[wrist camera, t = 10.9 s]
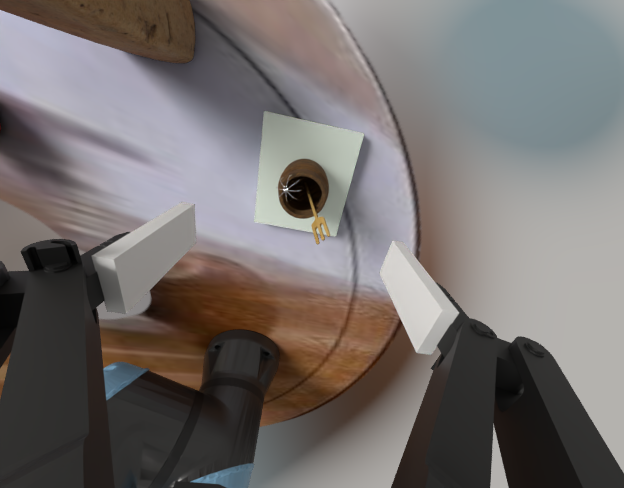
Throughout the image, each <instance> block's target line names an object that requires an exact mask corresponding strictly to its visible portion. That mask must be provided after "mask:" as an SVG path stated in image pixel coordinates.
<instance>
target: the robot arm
mask: <svg viewBox="0 0 624 488" xmlns="http://www.w3.org/2000/svg"><path fill="white" fill-rule="evenodd" d="M195 243H196V228H195V204H190V203H185V202H181V203H179V204H178V205H176V206H174V207H173V208H171V209H169V210H168V211H166V212H164V213H163V214H161V215H159V216H158V217H156V218H154V219H153V220H151V221H149V222H148V223H146V224H144V225H143V226H141V227H139V228H137V229H136V230H134V231H132V232H126V233H123V234H120V235H116V236H114V237H113V238H111V239H109V240H107V242H104V243H102V244H100V246H97V247H95V248H93V249H91V250H90V251H88V252H86V253H84V254H83V255H81V256H80V254H79V250H78V247H77V244H76V243H75V242H74V241H71V240H66V239H52V240H45V241H40V242H36V243H33V244H30V245H28V246H26V247H24V248H23V249H22V251H21V254H22V256H23V258H24V260H25V263H26V265H27V267H28V269H29V271H9V272H8V271H7V269H6V267H5V265H4V264H3V263H2V261H0V368H1V366H2V365H3V363H4V362H5V360H6V359H7V357H8V356H9V354H10V352H11V356H10V360H9V364H8V369H7V373H6V377H5V382H4V386H3V391H2V395H1V399H0V488H248V485H249V482H250V477H251V473H252V470H253V467H254V464H253V462H254V456H255V449H256V443H257V437H258V432H259V426H260V420H261V414H262V408H263V402H264V397H265V394H266V392H267V390H268V388H269V386H270V384H271V382H272V380H273V378H274V376H275V374H276V372H277V369H278V365H279V357H280V355H279V351H278V348H277V347H276V345H275V344H274V343H273V342H272V341H271V340H270V339H268V338H267V337H265V336H263V335H261V334H259V333H256V332H253V331H248V330H230V331H226V332H223V333H221V334H219V335H217V336H216V337H214V338H213V339H212V340H211V342H210V344H209V346H208V348H207V350H206V353H205V356H204V366H203V376H202V385H201V387H200V390H199V391H197V390H195V389H193V388H190V387H187V386H185V385H182V384H180V383H177V382H175V381H172V380H170V379H168V378H165V377H163V376H160V375H158V374H155V373H153V372H151V371H149V370H150V369H148V368H145V369H143V368H140V367H137V366H134V365H131V364H128V363H125V362H116V363H113V364H110V365H109V366H107V367H105V368H104V369H103V360H102V349H101V339H100V328H99V318H98V312H97V309H96V307H97V306H98V305H100V304H101V303H102V302H103V301H104V302H105V306H106V309H107V312H115V313H122V314H127V313H128V312H129V311H130V310H131V309H132V308H133V307H134V306H135V305H136V304H137V303H138V302H139V301H140V300H141V299H142V298H143V297H144V296H145V295H146V293H147V292H148V291H149V290H150V289H151V288H152V287H153V286H154V285H155V284H156V283H157V282H158V281H159V280H160V279H161V278H162V277H163V276H164V275H165V274H166V273H167V272H168V271H169V270H170V269H171V268H172V267H173V266H174V265H175V264H176V263H177V262H178V261H179V260H180V259H181V258H182V257H183V256H184V255H185V253H186V252H187V251H188V250H189V249H190V248H191V247H192V246H193V245H194V244H195ZM380 276H381V278H382V280H383V282H384V284H385V286H386V288H387V291H388V293H389V295H390V297H391V299H392V301H393V303H394V306H395V308H396V310H397V312H398V314H399V316H400V318H401V321H402V323H403V325H404V327H405V329H406V331H407V333H408V335H409V338H410V340H411V342H412V344H413V346H414V348H415V351H416V352H417V353H422V354H429V355H432V353H433V352H434V350H435V349H436V347H437V346H438V348H439V350H440V351H441V355H440V356H439V357H438V359H437V360H436V362H435V363H434V365H433V366H432V368H431V369H432V370H433V373H432V376H431V379H430V381H429V384H428V387H427V390H426V393H425V395H424V398H423V401H422V404H421V406H420V409H419V412H418V415H417V418H416V420H415V423H414V426H413V428H412V431H411V434H410V437H409V440H408V442H407V445H406V448H405V451H404V453H403V456H402V459H401V462H400V464H399V467H398V470H397V473H396V475H395V478H394V481H393V484H392V486H391V488H490V480H491V461H492V441H493V423H494V427H495V431H496V435H497V440H498V444H499V448H500V452H501V457H502V461H503V465H504V469H505V473H506V478H507V482H508V486H509V488H624V473H623V472H622V470H621V469H620V467H619V465H618V463H617V462H616V460H615V458H614V457H613V455H612V453H611V452H610V450H609V448H608V447H607V445H606V443H605V442H604V440H603V438H602V437H601V435H600V434H599V432H598V430H597V428H596V427H595V425H594V424H593V422H592V420H591V419H590V417H589V416H588V414H587V412H586V410H585V409H584V407H583V406H582V404H581V402H580V400H579V399H578V397H577V395H576V394H575V392H574V391H573V389H572V387H571V385H570V384H569V382H568V380H567V379H566V377H565V375H564V374H563V372H562V371H561V369H560V367H559V366H558V364H557V362H556V361H555V359H554V357H553V356H552V355H551V354H550V352H548V351H547V350H546V349H545V348H544V347H543V346H542V345H539V343H537V342H535V341H533V340H530V339H528V338H525V337H517V338H516V339H515V340H514V341H513V342H512V343H509V342H507V341H504V340H501V339H499V338H497V336H496V334H495V333H494V332H493V331H492V330H491V329H490V328H489V327H488V326H486V325H485V324H483V323H482V322H480V321H477V320H475V319H470V318H469V317H468V316H467V315H466V314H465V312H463V310H462V309H461V308H460V306H459V305H458V304H457V303H456V302H455V300H454V299H453V298H452V297H450V294H449V293H448V292H447V291H446V289H444V288H443V287H442V286H441V285H439V284H438V283H436V282H434V281H433V279H432V278H431V277H430V276H429V274H428V273H427V272H426V270H425V269H424V268H423V267H422V265H421V264H420V263H419V261H418V260H417V259H416V258H415V256H414V255H413V254H412V253H411V251H410V250H409V249H408V248H407V246H406V245H405V244H404V243H403V242H399V241H392V243H391V246H390V248H389V251H388V253H387V256H386V258H385V260H384V263H383V265H382V268H381V270H380Z"/></svg>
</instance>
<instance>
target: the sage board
mask: <svg viewBox="0 0 624 488" xmlns="http://www.w3.org/2000/svg"><path fill="white" fill-rule="evenodd" d="M363 137H364V133H360V132H355V131H351V130H347V129H342V128H338V127H333V126H329V125H324V124H320V123H316V122H311V121H307V120H302V119H298V118H294V117H289V116H285V115H280V114H276V113H272V112H267V111H264V115H263V127H262V138H261V150H260V161H259V173H258V184H257V196H256V207H255V218H254V222H257V223H263V224H268V225H274V226H279V227H285V228H290V229H296V230H301V231H307V232H312V233H313V230H312V227H311V225H312V223H313V222H314V220H315V217H314V216H313V217H311V218H306V219H300V218H295V217H293V216H291V215H289V214H288V213H287V212H286V211H285V210H284V209H283V208H282V206H281V204H280V201H279V196H278V189H277V188H278V183H279V179H280V177H281V175H282V173H283V171H284V170H285V168H286V167H287V166H288V165H289V164H290V163H292V162H293V161H295V160H298V159H310V160H313V161H315V162H317V163H318V164H319V165H320V166H321V167H322V168H323V169H324V171H325V173H326V175H327V179H328V183H329V194H328V198H327V200H326V203H325V205H324V207H323V209H322V210H321V211H320V212H319V213H318V214H317V215H318V218H319V217H324V218H325V221H326V224H327V227H328V229H329V232H330V236H334V237H336V234H337V231H338V227H339V223H340V220H341V216H342V212H343V209H344V205H345V202H346V198H347V194H348V191H349V187H350V184H351V180H352V176H353V173H354V169H355V166H356V162H357V158H358V155H359V151H360V147H361V144H362V140H363ZM276 187H277V188H276ZM321 227H322V231H323V234H324V235H327V234H326V232H325V229H324V226H323V224H322V225H321ZM316 231H317V233H318V234H320V233H319V230H318V228H317V229H316Z"/></svg>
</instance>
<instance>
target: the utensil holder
mask: <svg viewBox="0 0 624 488" xmlns="http://www.w3.org/2000/svg"><path fill="white" fill-rule="evenodd" d="M276 188H277V187H276ZM277 189H278V196H279V201H280V204H281V206H282V208H283V209H284V210H285V211H286V212H287V213H288V214H289V215H291V216H293V217H295V218H300V219H306V218H311V217H313V216H314V217H315V220H314V222H313V223H312V225H311V227H312V230H313V234H314V237H315V240H316V244H319V243H320V242H319V238H318V235H317V231H316V229H317V228H318V230H319V233H320V236H321V239H322V241H324V240H325V237H324V234H323V231H322V227H321V225H322V224H323V226H324V229H325V232H326V234H327V236H328V237H329V236H330V232H329V229H328V227H327V224H326V221H325V218H324V217H319V218H318V215H317V214H318V213H319V212H320V211H321V210H322V209H323V207H324V205H325V203H326V200H327V198H328V194H329V183H328V179H327V175H326V173H325V171H324V169H323V168H322V167H321V166H320V165H319V164H318V163H317V162H315V161H313V160H310V159H298V160H295V161H293V162H292V163H290V164H289V165H288V166H287V167H286V168H285V170H284V171H283V173H282V175H281V177H280V179H279V183H278V188H277Z"/></svg>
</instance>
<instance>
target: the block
mask: <svg viewBox="0 0 624 488" xmlns="http://www.w3.org/2000/svg"><path fill="white" fill-rule="evenodd" d="M0 10H2V11H5V12H8V13H11V14H14V15H17V16H19V17H22V18H25V19H28V20H31V21H33V22H36V23H39V24H42V25H45V26H48V27H51V28H54V29H57V30H60V31H63V32H66V33H69V34H72V35H75V36H78V37H81V38H84V39H87V40H90V41H93V42H95V43H99V44H102V45H106V46H109V47H112V48H115V49H119V50H122V51H125V52H128V53H132V54H136V55H140V56H143V57H147V58H151V59H155V60H159V61H165V62H170V63H187V62H189V61H191V60H192V59H193V57H194V46H195V23H194V17H193V12H192V7H191V3H190V1H189V0H0Z"/></svg>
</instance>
